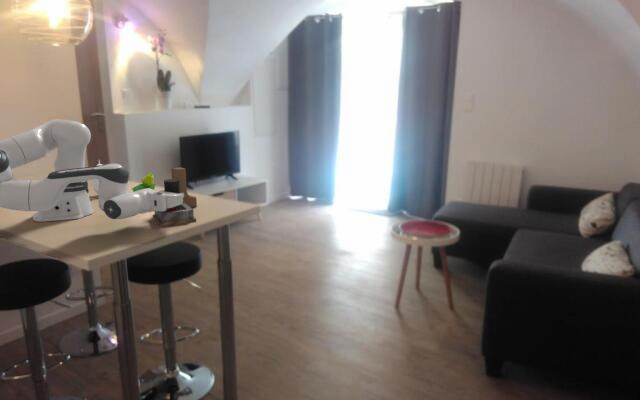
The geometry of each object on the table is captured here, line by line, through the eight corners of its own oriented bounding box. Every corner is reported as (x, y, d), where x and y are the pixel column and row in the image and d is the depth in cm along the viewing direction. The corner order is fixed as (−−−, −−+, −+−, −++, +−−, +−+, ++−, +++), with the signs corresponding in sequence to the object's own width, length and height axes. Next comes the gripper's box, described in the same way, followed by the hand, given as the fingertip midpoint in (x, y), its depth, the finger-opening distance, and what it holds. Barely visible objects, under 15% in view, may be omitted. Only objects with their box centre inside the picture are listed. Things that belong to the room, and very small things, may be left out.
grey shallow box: (160, 226, 182) (159, 214, 181) (152, 217, 194) (151, 206, 192) (196, 221, 189) (195, 210, 188) (186, 212, 201) (186, 202, 199)
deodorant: (184, 215, 192) (182, 179, 189) (174, 219, 187) (172, 182, 183) (173, 213, 195) (170, 178, 191) (163, 217, 189) (160, 181, 186)
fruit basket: (141, 193, 234) (139, 171, 231) (159, 193, 234) (157, 171, 231) (132, 199, 223) (129, 175, 220) (150, 199, 223) (148, 176, 220)
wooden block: (192, 204, 214) (189, 165, 209) (197, 206, 211) (195, 167, 206) (173, 208, 208) (171, 168, 203) (178, 210, 204) (176, 169, 200)
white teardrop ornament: (96, 198, 223) (92, 160, 219) (91, 195, 229) (87, 158, 225) (113, 195, 228) (110, 159, 224) (108, 192, 234) (104, 157, 230)
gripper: (128, 204, 183) (156, 197, 195) (166, 212, 174) (193, 204, 185) (127, 188, 182) (155, 182, 194) (165, 195, 172) (192, 188, 184)
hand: (174, 193), depth 189 cm, fingers open, 8 cm apart
